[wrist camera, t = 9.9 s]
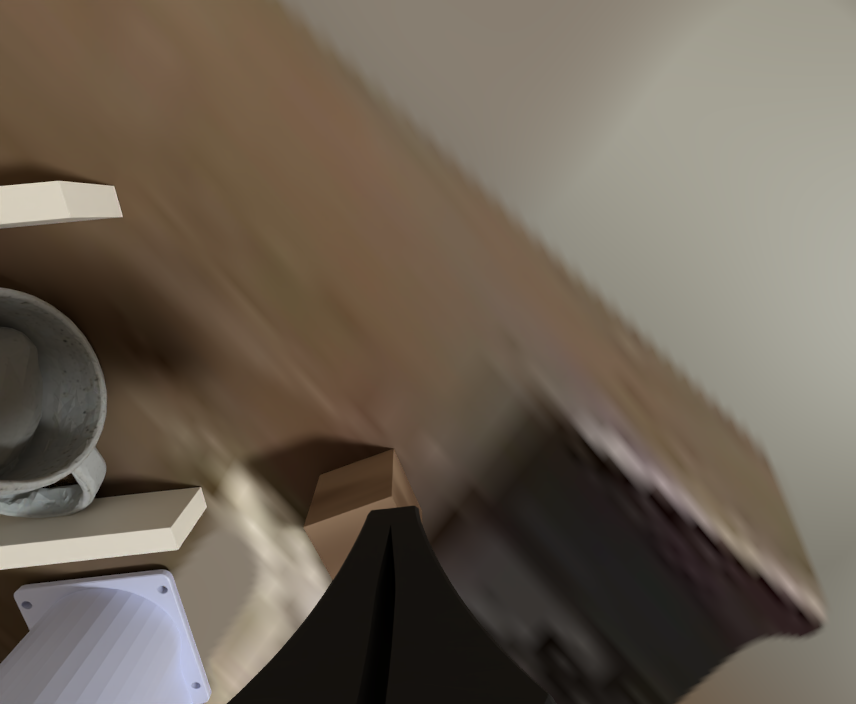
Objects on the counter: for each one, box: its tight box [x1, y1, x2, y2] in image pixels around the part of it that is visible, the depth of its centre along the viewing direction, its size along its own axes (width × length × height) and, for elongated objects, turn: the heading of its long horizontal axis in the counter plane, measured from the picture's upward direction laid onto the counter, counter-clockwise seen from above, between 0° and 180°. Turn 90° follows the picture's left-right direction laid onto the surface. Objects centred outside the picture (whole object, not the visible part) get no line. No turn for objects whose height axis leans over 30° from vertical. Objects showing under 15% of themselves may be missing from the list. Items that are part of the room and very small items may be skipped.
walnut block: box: [303, 449, 422, 579], centre depth 21 cm, size 4×4×4 cm
